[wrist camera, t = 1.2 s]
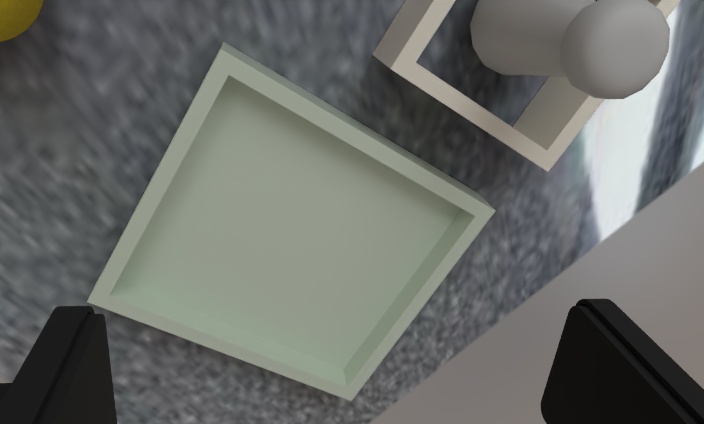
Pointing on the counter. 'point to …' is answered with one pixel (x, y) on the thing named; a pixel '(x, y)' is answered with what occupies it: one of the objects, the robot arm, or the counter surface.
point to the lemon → (17, 16)
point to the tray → (287, 232)
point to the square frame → (524, 137)
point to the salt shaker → (574, 42)
